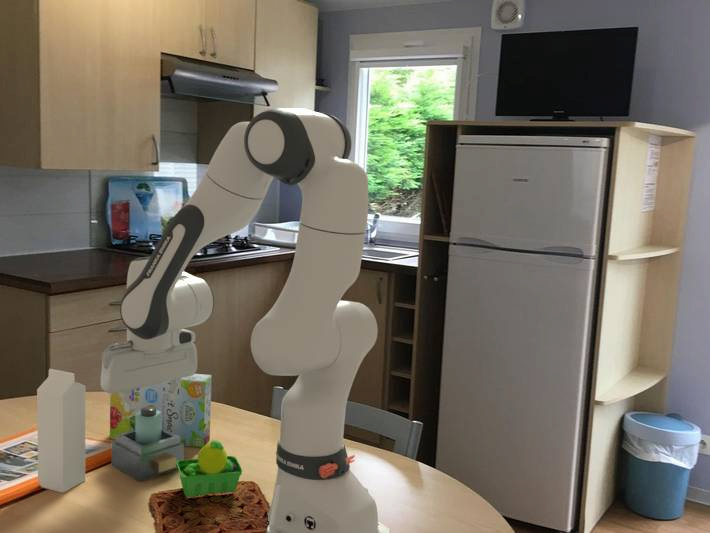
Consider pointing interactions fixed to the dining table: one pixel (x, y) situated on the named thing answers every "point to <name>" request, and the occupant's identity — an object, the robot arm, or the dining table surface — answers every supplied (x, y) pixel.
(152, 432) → the capped canister
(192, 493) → the fruit basket
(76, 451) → the milk
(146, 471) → the gray drawer
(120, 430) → the snack box
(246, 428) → the dining table surface
